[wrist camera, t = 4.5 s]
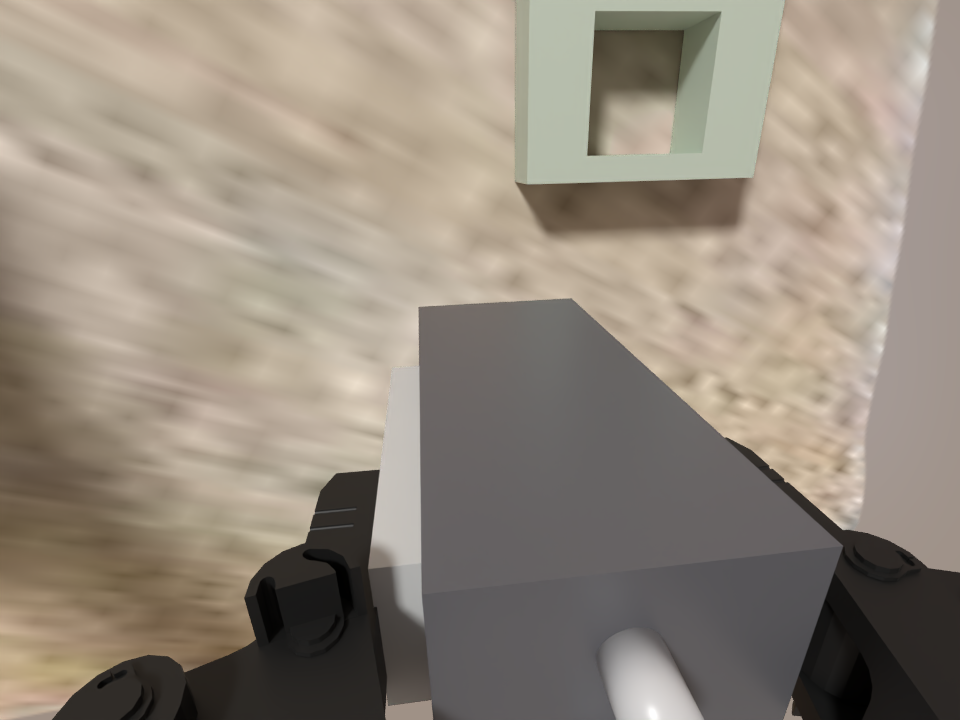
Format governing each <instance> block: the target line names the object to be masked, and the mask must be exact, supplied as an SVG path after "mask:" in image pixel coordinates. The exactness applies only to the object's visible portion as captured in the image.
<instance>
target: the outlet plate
mask: <svg viewBox="0 0 960 720" xmlns="http://www.w3.org/2000/svg"><path fill="white" fill-rule="evenodd" d="M784 3H785V0H516V63H515V182H519V183H523V184H558V183H591V182H624V181H657V180H690V179H723V178H753V176H754V170H755V165H756V159H757V154H758V148H759V142H760V137H761V131H762V126H763V120H764V115H765V109H766V103H767V98H768V92H769V87H770V81H771V76H772V70H773V65H774V59H775V53H776V48H777V42H778V37H779V31H780V26H781V20H782V14H783V9H784ZM594 30H684V37H683V46H682V54H681V63H680V72H679V80H678V89H677V97H676V106H675V115H674V123H673V132H672V140H671V149H670V154H642V155H603V156H587V149H588V131H589V113H590V95H591V78H592V60H593V42H594Z"/></svg>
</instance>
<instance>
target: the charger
mask: <svg viewBox="0 0 960 720" xmlns="http://www.w3.org/2000/svg"><path fill="white" fill-rule="evenodd" d="M419 388H420V485H421V582H422V604H423V614H424V625H425V636H426V646H427V657H428V667H429V678H430V688H431V699H432V709H433V720H783V719H784V716H785V713H786V710H787V707H788V704H789V701H790V699H791V696H792V693H793V690H794V687H795V684H796V681H797V678H798V675H799V672H800V670H801V667H802V664H803V661H804V658H805V655H806V652H807V649H808V646H809V644H810V641H811V638H812V635H813V632H814V629H815V626H816V623H817V620H818V617H819V615H820V612H821V609H822V606H823V603H824V600H825V597H826V594H827V591H828V588H829V586H830V583H831V580H832V577H833V574H834V571H835V568H836V565H837V562H838V559H839V557H840V554H841V551H842V548H843V545H841V544H840V543H839V542H838V541H837V540H836V539H835V538H834V537H833V536H832V535H830V534H829V533H828V532H827V531H826V530H825V529H824V528H823V527H822V526H821V525H819V524H818V523H817V522H816V521H815V520H814V519H813V518H812V517H811V516H810V515H808V514H807V513H806V512H805V511H804V510H803V509H802V508H801V507H800V506H799V505H798V504H796V503H795V502H794V501H793V500H792V499H791V498H790V497H789V496H788V495H787V494H785V493H784V492H783V491H782V490H781V489H780V488H779V487H778V486H777V485H776V484H774V483H773V482H772V481H771V480H770V479H769V478H768V477H767V476H766V475H765V474H763V473H762V472H761V471H760V470H759V469H758V468H757V467H756V466H755V465H754V464H753V463H751V462H750V461H749V460H748V459H747V458H746V457H745V456H744V455H743V454H742V453H740V452H739V451H738V450H737V449H736V448H735V447H734V446H733V445H732V444H731V443H729V442H728V441H727V440H726V439H725V438H724V437H723V436H722V435H721V434H720V433H718V432H717V431H716V430H715V429H714V428H713V427H712V426H711V425H710V424H709V423H707V422H706V421H705V420H704V419H703V418H702V417H701V416H700V415H699V414H698V413H697V412H695V411H694V410H693V409H692V408H691V407H690V406H689V405H688V404H687V403H686V402H684V401H683V400H682V399H681V398H680V397H679V396H678V395H677V394H676V393H675V392H673V391H672V390H671V389H670V388H669V387H668V386H667V385H666V384H665V383H664V382H662V381H661V380H660V379H659V378H658V377H657V376H656V375H655V374H654V373H653V372H651V371H650V370H649V369H648V368H647V367H646V366H645V365H644V364H643V363H642V362H641V361H639V360H638V359H637V358H636V357H635V356H634V355H633V354H632V353H631V352H630V351H628V350H627V349H626V348H625V347H624V346H623V345H622V344H621V343H620V342H619V341H617V340H616V339H615V338H614V337H613V336H612V335H611V334H610V333H609V332H608V331H606V330H605V329H604V328H603V327H602V326H601V325H600V324H599V323H598V322H597V321H596V320H594V319H593V318H592V317H591V316H590V315H589V314H588V313H587V312H586V311H585V310H583V309H582V308H581V307H580V306H579V305H578V304H577V303H576V302H575V301H574V300H572V299H553V300H535V301H517V302H500V303H482V304H464V305H446V306H428V307H419Z"/></svg>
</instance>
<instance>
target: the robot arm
mask: <svg viewBox="0 0 960 720" xmlns="http://www.w3.org/2000/svg"><path fill="white" fill-rule="evenodd" d="M725 439H726V440H727V441H728V442H729V443H731V444H732V445H733V446H734V447H735V448H736V449H737V450H738V451H739V452H740V453H742V454H743V455H744V456H745V457H746V458H747V459H748V460H749V461H750V462H751V463H753V464H754V465H755V466H756V467H757V468H758V469H759V470H760V471H761V472H762V473H763V474H765V475H766V476H767V477H768V478H769V479H770V480H771V481H772V482H773V483H774V484H776V485H777V486H778V487H779V488H780V489H781V490H782V491H783V492H784V493H785V494H787V495H788V496H789V497H790V498H791V499H792V500H793V501H794V502H795V503H796V504H798V505H799V506H800V507H801V508H802V509H803V510H804V511H805V512H806V513H807V514H808V515H810V516H811V517H812V518H813V519H814V520H815V521H816V522H817V523H818V524H819V525H821V526H822V527H823V528H824V529H825V530H826V531H827V532H828V533H829V534H830V535H832V536H833V537H834V538H835V539H836V540H837V541H838V542H839V543H840V544H841V545H843V548H842V551H841V554H840V557H839V559H838V562H837V565H836V568H835V571H834V574H833V577H832V580H831V583H830V586H829V588H828V591H827V594H826V597H825V600H824V603H823V606H822V609H821V612H820V615H819V617H818V620H817V623H816V626H815V629H814V632H813V635H812V638H811V641H810V644H809V646H808V649H807V652H806V655H805V658H804V661H803V664H802V667H801V670H800V672H799V675H798V678H797V681H796V684H795V687H794V690H793V693H792V698H793V700H794V701H793V705H792V715H794V716H802V719H803V720H960V573H958V572H951V571H944V570H936V569H929V568H927V567H926V566H925V565H924V564H923V563H922V562H921V561H919V560H918V559H917V558H915V556H913V555H912V554H911V553H910V552H908V551H906V550H904V549H903V548H901V547H899V546H897V545H895V544H894V543H892V542H890V541H888V540H885V539H882V538H880V537H877V536H874V535H871V534H868V533H863V532H857V531H851V530H842V529H841V528H840V527H838V526H837V525H836V524H835V523H834V522H833V521H832V520H830V519H829V518H828V517H827V516H826V515H825V514H824V513H822V512H821V511H820V510H819V509H818V508H817V507H816V506H814V505H813V504H812V503H811V502H810V501H809V500H808V499H806V498H805V497H804V496H803V495H802V494H801V493H800V492H798V491H797V490H796V489H795V488H794V487H793V486H792V485H790V484H789V483H788V482H786V483H785V482H784V478H782V477H781V476H780V475H779V474H778V473H777V472H776V471H775V470H773V469H769V465H768V464H767V463H765V462H764V461H763V460H762V459H761V458H760V457H759V456H757V455H756V454H755V453H754V452H753V451H752V450H750V449H748V448H746V447H744V446H742V445H740V444H738V443H737V442H735V441H733V440H731V439H729V438H727V437H726V438H725ZM244 599H245V602H246V606H247V609H248V613H249V616H250V619H251V623H252V626H253V630H254V633H255V637H256V640H255V641H254V642H252V643H251V644H249V645H248V646H246V647H244V648H242V649H240V650H238V651H236V652H234V653H232V654H230V655H228V656H225V657H223V658H220V659H218V660H215V661H213V662H210V663H208V664H205V665H203V666H200V667H198V668H195V669H193V670H190V671H188V672H185V673H184V671H183V669H182V666H181V665H180V664H178V663H177V662H175V661H174V660H173V659H171V658H170V657H168V656H155V655H147V656H143V657H139V658H135V659H131V660H128V661H124V662H122V663H120V664H118V665H116V666H114V667H112V668H111V669H109V670H107V671H105V672H103V673H101V674H99V675H97V676H96V677H95V678H94V679H92V680H91V681H90V682H89V683H87V684H86V685H85V686H84V687H82V688H81V689H80V690H79V691H77V692H76V693H75V694H74V695H72V697H71V698H70V699H69V700H68V701H67V702H66V704H65V705H64V706H63V707H62V708H61V710H60V711H59V712H58V713H57V714H56V716H55V717H54V718H53V719H52V720H386V719H385V706H386V693H387V700H388V706H390V705H398V704H404V703H412V702H420V701H427V700H432V699H431V688H430V678H429V667H428V657H427V646H426V636H425V625H424V614H423V604H422V582H421V485H420V388H419V366H409V367H394V368H392V374H391V382H390V390H389V399H388V407H387V415H386V423H385V432H384V440H383V448H382V457H381V465H380V470H371V471H359V472H348V473H337V474H335V475H334V477H333V478H332V479H331V480H330V481H329V482H328V483H327V484H326V486H325V487H324V488H323V489H322V490H321V491H320V495H319V498H318V502H317V505H316V509H315V515H313V519H312V522H311V526H310V532H309V533H308V536H307V539H306V543H305V544H301V545H298V546H296V547H293V548H291V549H288V550H285V551H283V552H281V553H280V554H278V555H277V556H275V557H274V558H273V559H271V560H270V561H268V562H267V563H265V564H264V565H263V566H262V567H261V569H260V570H259V571H258V572H257V573H256V575H255V576H254V577H253V578H252V579H251V581H250V584H249V586H248V589H247V592H246V595H245V598H244Z"/></svg>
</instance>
